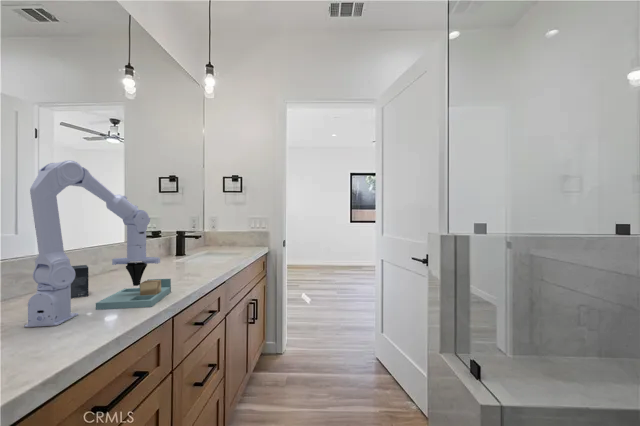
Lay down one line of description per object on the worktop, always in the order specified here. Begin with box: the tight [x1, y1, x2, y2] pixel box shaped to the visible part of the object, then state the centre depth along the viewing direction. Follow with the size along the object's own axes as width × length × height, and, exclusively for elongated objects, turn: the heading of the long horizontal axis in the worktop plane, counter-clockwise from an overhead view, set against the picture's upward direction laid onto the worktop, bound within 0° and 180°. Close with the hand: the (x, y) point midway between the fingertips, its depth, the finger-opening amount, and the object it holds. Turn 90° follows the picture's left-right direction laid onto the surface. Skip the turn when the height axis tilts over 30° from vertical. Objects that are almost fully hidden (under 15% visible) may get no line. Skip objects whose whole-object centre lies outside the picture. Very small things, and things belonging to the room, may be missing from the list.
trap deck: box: [95, 278, 172, 311], centre depth 110 cm, size 20×16×5 cm
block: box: [139, 279, 161, 295], centre depth 111 cm, size 5×5×4 cm
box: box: [71, 264, 89, 299], centre depth 118 cm, size 8×6×11 cm
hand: (136, 285), depth 110 cm, fingers closed
